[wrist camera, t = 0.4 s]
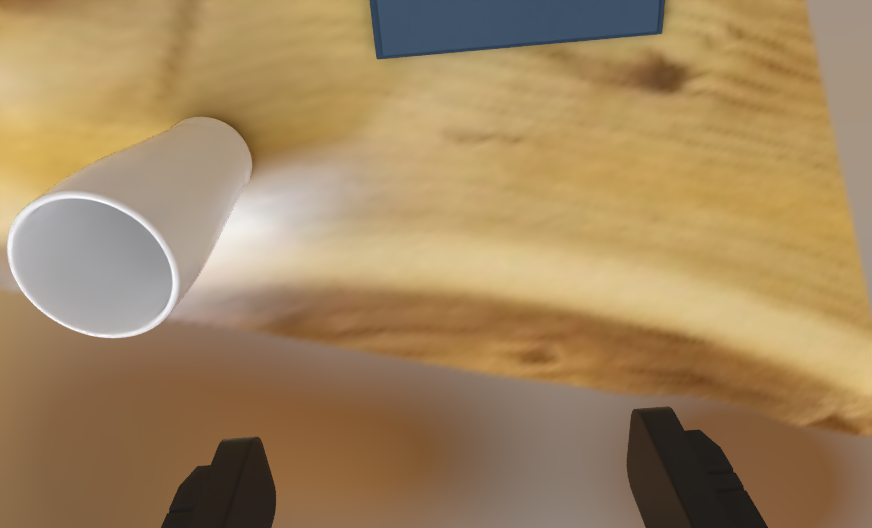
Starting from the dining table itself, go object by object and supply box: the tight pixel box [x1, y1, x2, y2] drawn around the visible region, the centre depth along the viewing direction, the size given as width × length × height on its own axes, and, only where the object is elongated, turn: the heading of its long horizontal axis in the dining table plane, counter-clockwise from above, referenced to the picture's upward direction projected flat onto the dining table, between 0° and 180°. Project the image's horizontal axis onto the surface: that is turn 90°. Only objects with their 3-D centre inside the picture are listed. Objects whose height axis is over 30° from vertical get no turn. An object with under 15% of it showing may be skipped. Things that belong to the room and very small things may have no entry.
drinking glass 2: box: [7, 117, 252, 338], centre depth 30 cm, size 7×7×15 cm
